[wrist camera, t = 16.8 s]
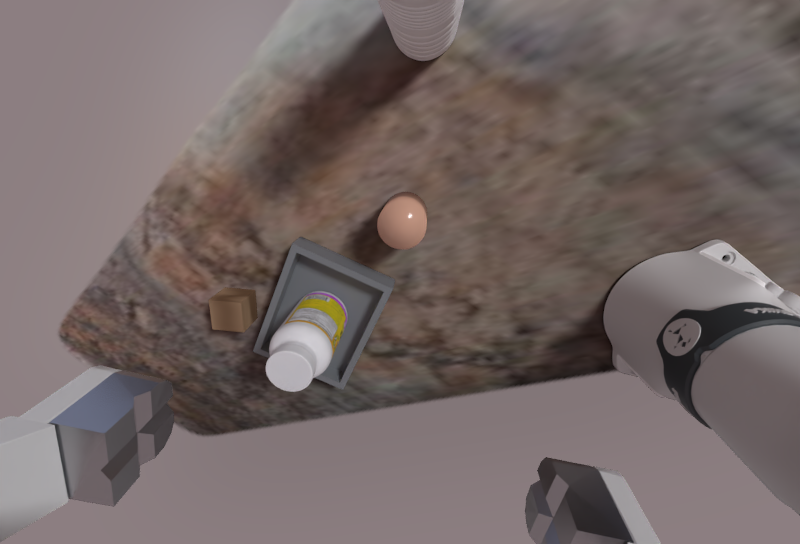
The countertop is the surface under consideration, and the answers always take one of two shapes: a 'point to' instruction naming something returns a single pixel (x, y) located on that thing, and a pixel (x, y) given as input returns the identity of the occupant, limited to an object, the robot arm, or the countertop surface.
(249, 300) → the walnut block
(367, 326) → the tray
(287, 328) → the supplement bottle
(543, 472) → the robot arm
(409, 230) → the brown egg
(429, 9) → the water bottle
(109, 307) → the countertop surface
